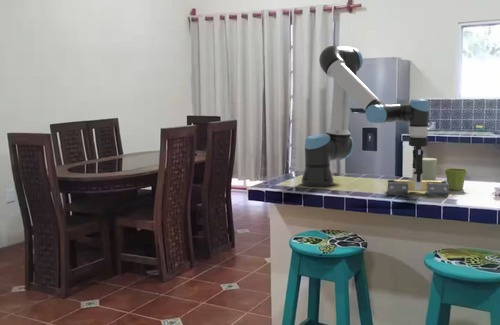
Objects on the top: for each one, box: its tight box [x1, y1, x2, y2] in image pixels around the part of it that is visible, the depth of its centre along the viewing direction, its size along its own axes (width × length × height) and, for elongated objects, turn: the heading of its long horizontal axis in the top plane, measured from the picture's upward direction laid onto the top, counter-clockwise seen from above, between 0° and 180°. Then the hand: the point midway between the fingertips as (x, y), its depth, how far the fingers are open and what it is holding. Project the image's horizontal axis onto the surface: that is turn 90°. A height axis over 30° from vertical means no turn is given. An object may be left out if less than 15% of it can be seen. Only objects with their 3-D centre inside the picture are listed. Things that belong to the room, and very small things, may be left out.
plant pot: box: [443, 167, 468, 191], centre depth 224 cm, size 9×9×9 cm
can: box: [422, 157, 438, 181], centre depth 240 cm, size 9×9×12 cm
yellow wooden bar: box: [393, 179, 443, 192], centre depth 215 cm, size 19×4×4 cm, turn 76°
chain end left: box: [387, 179, 409, 196], centre depth 217 cm, size 8×8×5 cm
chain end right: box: [425, 180, 450, 197], centre depth 213 cm, size 8×8×5 cm
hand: (416, 186), depth 216 cm, fingers open, 13 cm apart
